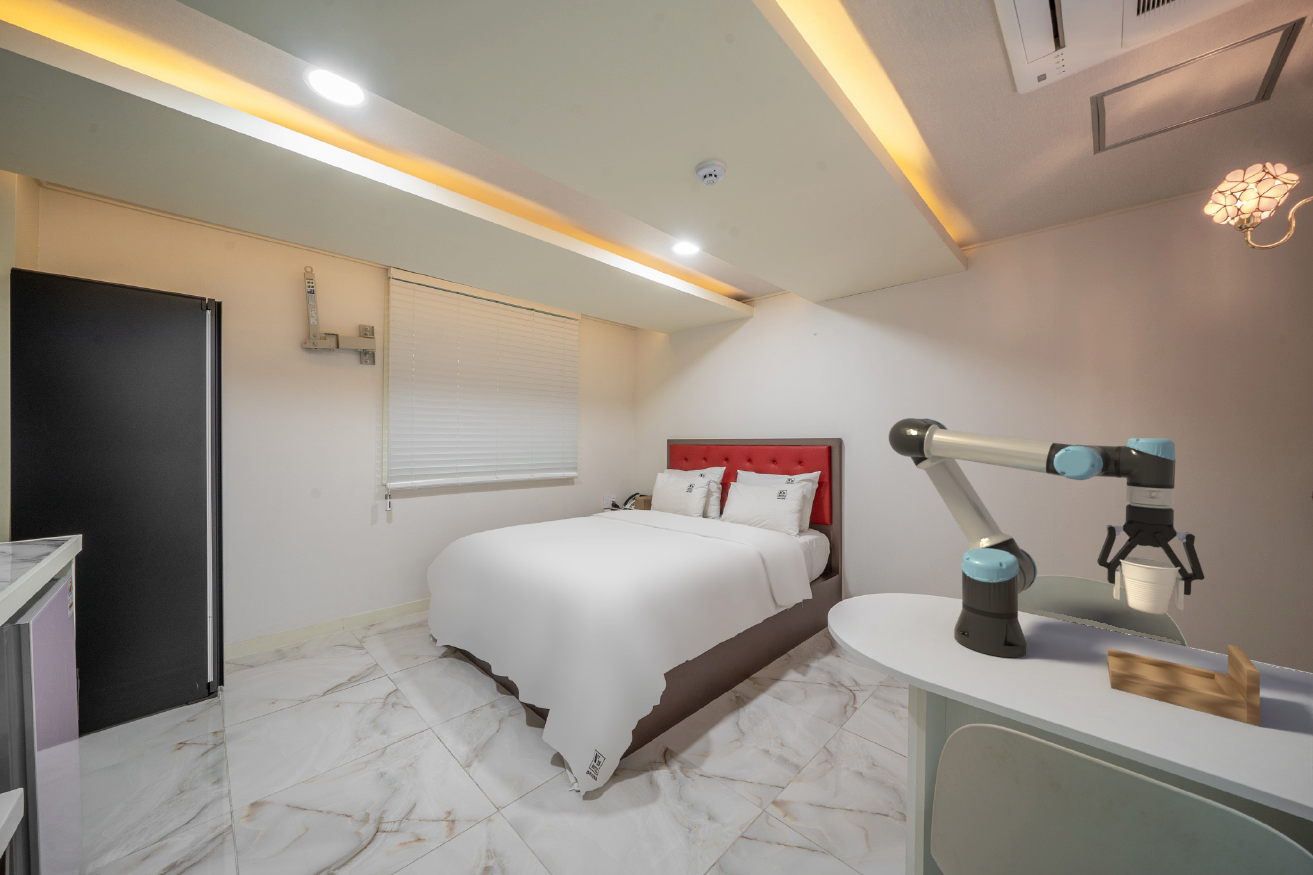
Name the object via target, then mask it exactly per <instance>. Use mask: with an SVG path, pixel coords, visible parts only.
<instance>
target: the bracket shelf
mask: <svg viewBox="0 0 1313 875" xmlns="http://www.w3.org/2000/svg"><path fill="white" fill-rule="evenodd" d="M1106 650H1107V652H1106V653H1107V655H1106V656H1107V658H1106V659H1107V660H1106V661H1107V668H1108V669H1107V670H1108V675H1109V681H1110V689H1114V690H1119V691H1122V692H1125V693H1129V694H1133V695H1137V696H1141V697H1145V698H1148V699H1153V700H1157V701H1159V702H1160V701H1161V702H1164V703H1168V704H1172V705H1176V706H1180V707H1183V708H1186V709H1187V708H1188V709H1190V710H1191V709H1192V710H1195V711H1199V712H1203V713H1207V714H1210V715H1214V716H1218V717H1222V718H1226V719H1230V720H1234V721H1237V722H1241V723H1245V724H1249V725H1253V726H1255V727H1260V726H1261V720H1260V719H1261V716H1260V714H1261V711H1260V710H1261V709H1260V707H1261V706H1260V705H1261V702H1260V700H1261V685H1260V684H1261V672H1260V671H1259V669H1258V668H1257V667H1256V665H1255V664H1254V663H1253V662H1252V661H1251V659H1250V658H1249V657H1248V655H1247V654H1246V652H1244V650H1243V649H1242V648H1241V646H1237V645H1234V644H1227V673H1223V672H1218V671H1213V670H1210V669H1203V668H1200V667H1196V666H1191V665H1185V664H1182V663H1178V662H1177V663H1176V662H1173V661H1172V662H1171V661H1169V660H1163V659H1159V658H1154V657H1149V656H1145V655H1140V654H1135V653H1131V652H1126V651H1123V650H1118V649H1113V648H1109V647H1107V649H1106Z"/></svg>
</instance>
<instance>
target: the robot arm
mask: <svg viewBox="0 0 1313 875" xmlns="http://www.w3.org/2000/svg"><path fill="white" fill-rule="evenodd" d="M888 443H889V445H890V446H891V449H893V451H894V452H896V453H897V454H898V455H901V456H903V457H908V458H910V459H911V460H912V462H913V464H914V465H915V468H917V469H921V470H922V471H924V472H925V474H926V475H927V476H928V478H929V479H930V481H931V482H932V484H933V486H934V487H935V489H936V491H937V493H938V494H939V496H940V498H941V499H942V501H943V503H944V504H945V505H946V507H947V509H948V510H949V512H950V515H952V517H953V519H954V521H955V522H956V523H957V525H958V527H959V528H960V530H961V531H962V533H963V535H964V537H965V538H966V540H967V541H968V544H969V546H968V547H969V548H968V550H967V551H965V552H964V554H963V556H962V561H961V576H962V577H961V579H962V580H961V584H962V586H961V591H962V592H961V595H962V596H961V597H962V598H961V599H962V601H961V602H962V603H961V604H962V605H961V606H962V607H961V610H960V614H959V616H958V619H957V621H956V623H955V626H954V631H953V632H954V633H953V635H954V639H955V641H956V640H957V641H956V642H958V643H959V644H960V645H962V646H963V647H966V648H968V649H970V650H972V651H975V652H978V653H981V654H986V655H989V656H996V657H1002V658H1020V657H1021V658H1022V657H1024V656H1026V655H1027V653H1028V643H1027V640H1026V637H1025V635H1024V632H1023V628H1022V627H1021V624H1020V622H1019V594H1021V593H1022V592H1023V591H1026V590H1027V589H1029V588H1030V587H1031V586H1033V584H1034V583H1035V580H1036V578H1037V575H1038V568H1037V564H1036V562H1035V559H1034V558H1033V556H1031V554H1030V553H1028V551H1026V550H1024V549H1022V548H1020V546H1019V544H1018V543H1017V542H1016V540H1015V538H1014V537H1013V536H1012V535H1009V534H1007V533H1004V532H1003V531H1002V530H1001V529H1000V527H999V526H998V523H997V522H996V521H995V519H994V517H993V516H992V513H990V511H989V509H988V508H987V506H986V505H985V504H984V502H983V500H982V498H980V496H979V494H978V492H977V491H976V490H975V488H974V487H973V485H972V483H971V482H970V480H969V479H968V477H967V476H966V474H965V473H964V471H963V470H962V468H961V467H960V465H959V463H958V462H957V461H956V460H961V461H967V462H973V463H979V464H984V465H985V464H986V465H990V466H998V467H1005V468H1011V469H1016V470H1017V469H1018V470H1023V471H1031V472H1034V473H1035V472H1036V473H1042V474H1048V475H1053V476H1060V477H1064V478H1066V479H1070V480H1074V481H1075V480H1076V481H1085V480H1089V479H1092V478H1094V477H1104V478H1121V479H1122V478H1123V479H1126V490H1125V491H1126V492H1125V493H1126V494H1125V498H1126V499H1125V501H1126V502H1127V503H1129V504H1127V505H1125V522H1124V524H1123V525H1112V524H1108V525H1106V532H1107V535H1106V537H1105V539H1104V543H1103V545H1102V548H1101V550H1100V553H1099V555H1098V558H1097V560H1096V561H1097V564H1098V566H1100V567H1103V568H1105V569H1107V574H1106V575H1107V582H1108V583H1109V584H1113V594H1112V596H1113V598H1114V600H1118V601H1119V600H1121V599H1120V598H1121V597H1120V595H1121V594H1120V593H1121V570H1120V569H1118V567H1120V564H1121V561H1120V560H1124V559H1125V558H1126V557H1127V556H1129V555H1130V553H1131V552H1132V551H1133V550H1134V549H1135V548H1136V547H1137V546H1140V547H1152V548H1161V549H1162V551H1163V552H1164V554H1165V555H1166V557H1167V558H1168V560H1169V562H1170V563H1172V564H1173V565H1174V567H1175V568H1177V567H1180V569H1179V570H1178V574H1179V575H1180V577H1176V581H1175V598H1174V599H1175V601H1174V604H1175V608H1176V609H1177V610H1179V611H1184V608H1185V607H1184V606H1185V605H1184V602H1185V599H1184V598H1185V596H1191V594H1192V582H1193V581H1196V580H1197V581H1199V580H1200V581H1203V580H1204V579H1205V574H1204V572H1203V571H1204V570H1203V569H1202V566H1201V563H1200V560H1199V556H1198V553H1197V551H1196V548H1195V545H1194V544H1195V539H1196V536H1195V535H1194V534H1193V533H1191V532H1187V531H1186V532H1181V531H1176V529H1175V527H1174V523H1175V522H1174V521H1175V520H1174V518H1175V515H1174V514H1175V510H1174V509H1173V508H1171V507H1172V506H1174V505H1175V483H1176V482H1175V480H1176V479H1175V478H1176V460H1177V459H1176V448H1175V446H1176V445H1175V444H1176V443H1175V442H1174V441H1173V440H1172V439H1169V438H1154V437H1153V438H1152V437H1151V438H1149V437H1148V438H1144V437H1142V438H1141V437H1137V438H1136V437H1131V438H1129V439H1127V443H1126V444H1125V445H1117V446H1114V445H1112V446H1111V445H1093V444H1092V445H1089V444H1088V445H1087V444H1067V443H1060V442H1050V441H1044V440H1043V441H1041V440H1033V439H1025V438H1018V437H1011V436H1010V437H1009V436H1008V437H1007V436H1001V435H993V434H985V433H978V432H969V431H961V430H951V429H948V428H947V426H946V425H944V424H943V423H941V422H940V421H937V420H935V419H933V418H914V417H912V418H911V417H909V418H908V417H907V418H903V419H901V420H899V421H897V422H895V423H894V424H893V425H892V427H891V428H890V429H889V433H888ZM1122 532H1124V533H1125V534H1126V535H1127V536H1128V539H1127V540H1126V541H1125V543H1124V544H1123V546H1122V547H1121V548H1120V549H1119V550H1118V551H1117V553H1116V554H1115V555H1114V556H1113V557H1112V559H1111V560H1110V561H1109V562H1108V560H1109V557H1110V554H1111V552H1112V548H1113V546H1114V544H1115V541H1116V538H1117V536H1119V535H1120V534H1121V533H1122ZM1176 537H1177V538H1178V540H1179V541H1180V542H1181V543H1182V546H1183V549H1184V552H1185V554H1186V558H1187V560H1188V563H1189V564H1188V565H1189V566H1190V570H1191V572H1188V570H1187V569H1186V568H1185V566H1184V565H1183V563H1182V562H1181V560H1180V559H1179V557H1178V556H1177V555H1176V553H1175V551H1174V550H1173V548H1172V547H1171V546H1170V544H1169V543H1170V541H1172V540H1174V538H1176Z"/></svg>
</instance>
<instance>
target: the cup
mask: <svg viewBox="0 0 1313 875" xmlns="http://www.w3.org/2000/svg"><path fill="white" fill-rule="evenodd" d="M1120 561H1121V564H1120V565H1119V567H1120V568H1119V569H1120V574H1121V577H1122V581H1123V582H1122V583H1123V586H1124V592H1125V598H1126V602H1127V606H1129V608H1131V609H1133V610H1136V611H1139V612H1143V613H1145V614H1154V615H1164V614H1167V612H1168V609H1169V605H1170V600H1171V598H1172V594H1173V590H1174V589H1175V587H1174V586H1175V585H1176V578H1178V574H1179V572H1178V570H1179V569H1180V567H1177V568H1175V567H1174V565H1173V564H1172V562H1171V561H1165V560H1161V559H1160V560H1159V559H1155V558H1149V557H1148V558H1147V557H1140V556H1131V555H1130V556H1129V555H1128V556H1127V557H1126V558H1125V559H1124V560H1120Z"/></svg>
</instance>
